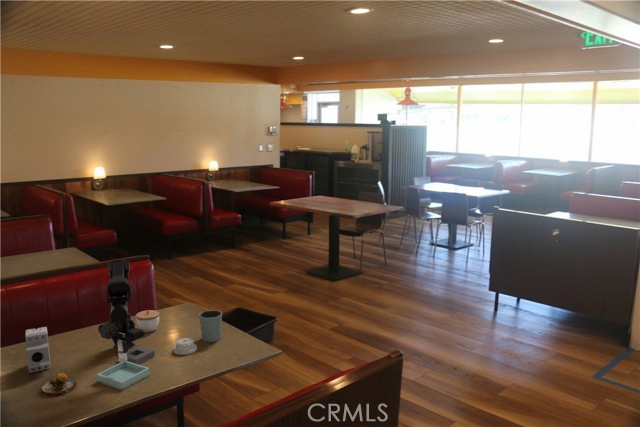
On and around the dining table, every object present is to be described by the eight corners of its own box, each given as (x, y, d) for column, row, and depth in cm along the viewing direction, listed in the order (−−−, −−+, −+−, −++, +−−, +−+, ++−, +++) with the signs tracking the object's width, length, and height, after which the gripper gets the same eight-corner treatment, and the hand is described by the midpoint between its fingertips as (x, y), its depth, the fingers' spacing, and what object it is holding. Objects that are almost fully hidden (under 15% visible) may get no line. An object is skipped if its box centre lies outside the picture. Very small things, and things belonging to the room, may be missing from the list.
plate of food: (52, 381, 205) (50, 362, 204) (82, 381, 205) (80, 363, 204) (34, 397, 194) (32, 377, 192) (66, 397, 193) (65, 378, 192)
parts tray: (97, 381, 204) (96, 374, 204) (125, 367, 216) (124, 360, 216) (122, 390, 198) (121, 382, 197) (150, 375, 210) (149, 368, 209)
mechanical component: (169, 354, 229) (191, 356, 227) (168, 344, 228) (190, 346, 226) (179, 344, 238) (200, 346, 236) (179, 335, 238) (200, 337, 236)
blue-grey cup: (227, 337, 246) (226, 312, 244) (211, 345, 238) (210, 319, 236) (210, 332, 251) (210, 308, 249) (195, 339, 243) (194, 314, 241)
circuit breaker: (28, 379, 206) (25, 342, 203) (29, 364, 218) (25, 329, 216) (50, 375, 209) (47, 339, 207) (49, 360, 222) (46, 326, 219)
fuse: (116, 361, 205) (115, 341, 204) (123, 358, 208) (122, 338, 206) (122, 363, 204) (121, 343, 202) (129, 359, 206) (127, 340, 205)
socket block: (118, 360, 222) (118, 354, 222) (137, 351, 231) (137, 345, 230) (136, 365, 218) (136, 360, 217) (154, 356, 226) (154, 350, 226)
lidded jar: (139, 325, 259) (138, 307, 258) (162, 324, 261) (161, 306, 259) (134, 334, 249) (133, 315, 247) (158, 333, 250) (157, 314, 248)
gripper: (84, 315, 200) (87, 355, 202) (120, 324, 191) (123, 365, 194) (109, 306, 209) (111, 344, 212) (144, 315, 201) (146, 354, 203)
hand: (122, 352), depth 205 cm, fingers closed on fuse, 3 cm apart
